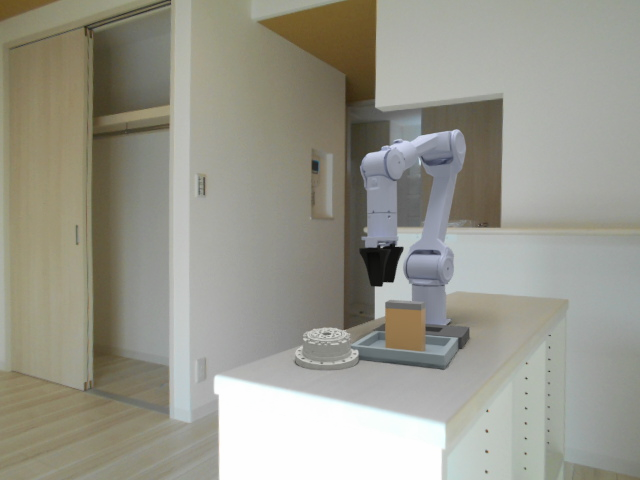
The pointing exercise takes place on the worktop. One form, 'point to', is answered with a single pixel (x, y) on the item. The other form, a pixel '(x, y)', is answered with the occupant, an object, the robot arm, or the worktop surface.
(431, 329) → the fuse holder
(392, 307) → the orange two-tone block
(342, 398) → the worktop surface
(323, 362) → the mechanical component
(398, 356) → the parts tray
